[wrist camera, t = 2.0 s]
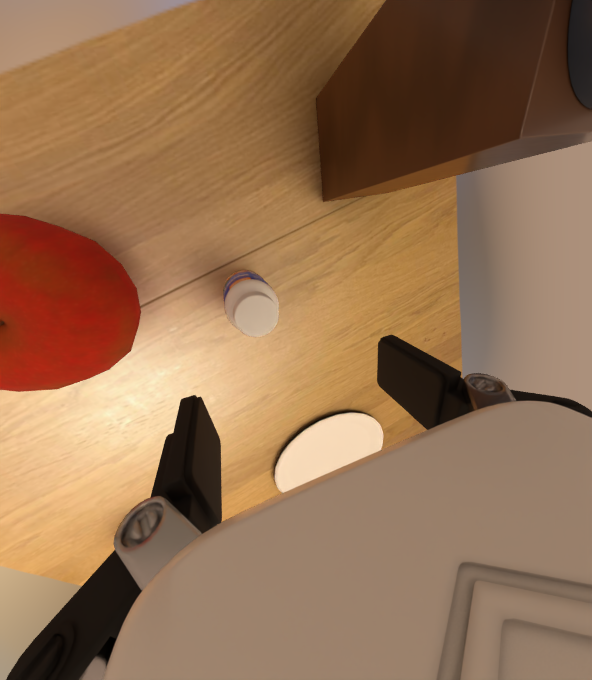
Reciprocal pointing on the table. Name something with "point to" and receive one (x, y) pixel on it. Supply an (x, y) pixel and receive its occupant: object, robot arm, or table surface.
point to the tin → (580, 50)
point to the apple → (60, 306)
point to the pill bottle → (250, 303)
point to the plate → (327, 448)
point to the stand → (447, 94)
